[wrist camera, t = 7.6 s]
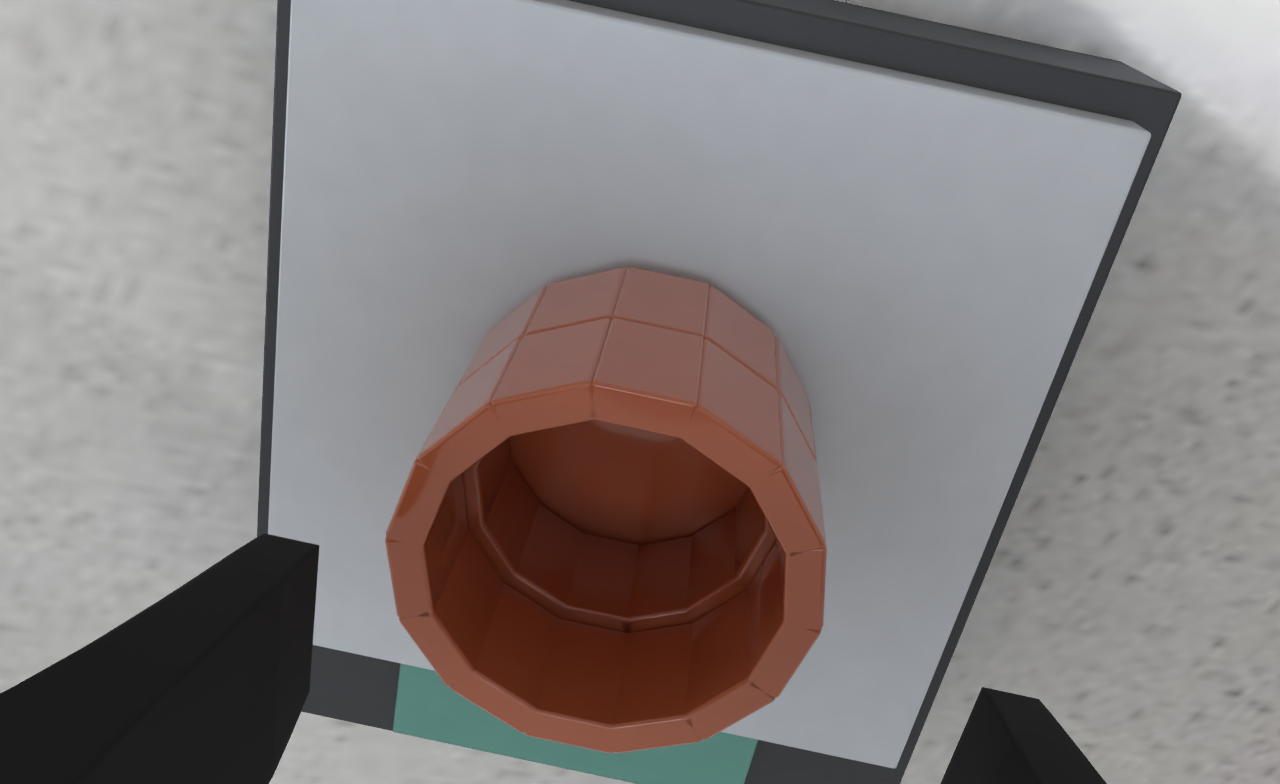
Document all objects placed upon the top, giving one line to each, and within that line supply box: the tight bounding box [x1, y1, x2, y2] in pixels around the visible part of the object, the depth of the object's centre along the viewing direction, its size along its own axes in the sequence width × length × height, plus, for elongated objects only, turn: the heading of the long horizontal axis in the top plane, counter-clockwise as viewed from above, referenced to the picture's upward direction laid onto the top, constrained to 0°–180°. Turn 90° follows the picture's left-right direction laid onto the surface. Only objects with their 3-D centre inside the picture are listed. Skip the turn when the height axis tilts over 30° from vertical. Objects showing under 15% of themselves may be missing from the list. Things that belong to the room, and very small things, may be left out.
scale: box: [257, 0, 1181, 784], centre depth 19 cm, size 15×13×4 cm
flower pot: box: [385, 267, 827, 753], centre depth 15 cm, size 5×6×4 cm
